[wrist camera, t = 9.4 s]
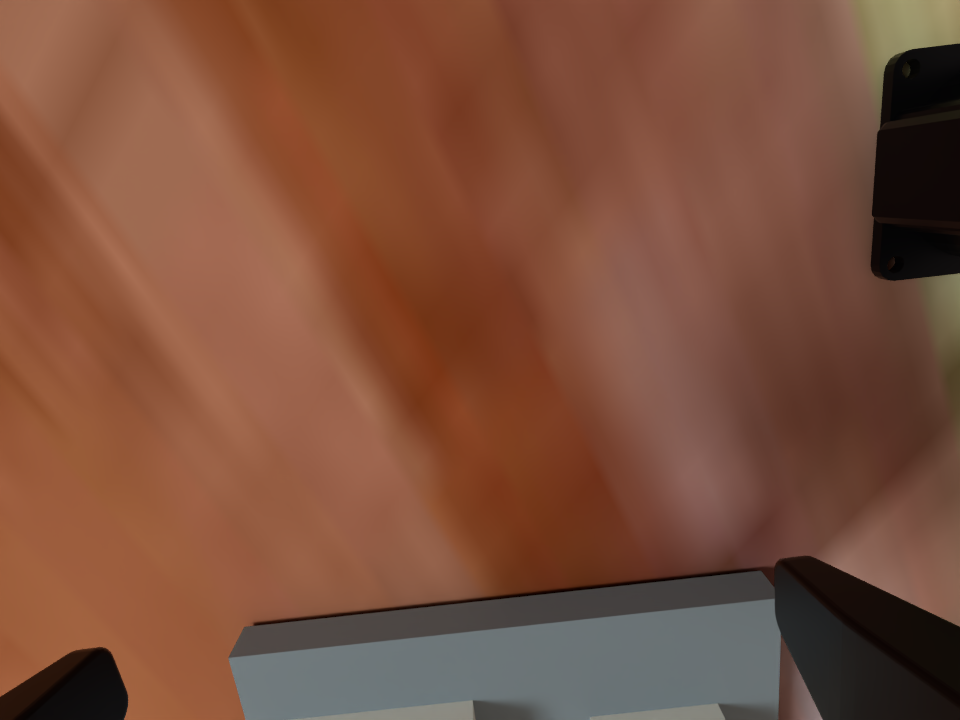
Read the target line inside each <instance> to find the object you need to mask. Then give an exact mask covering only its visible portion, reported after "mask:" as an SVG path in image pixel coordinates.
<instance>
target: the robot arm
mask: <svg viewBox="0 0 960 720" xmlns="http://www.w3.org/2000/svg"><path fill="white" fill-rule="evenodd" d="M906 62H907V63H908V64H909V66H910V73H909V76H908V77H907V78H906V77H905V76H904V75H903V72H902V69H903V66H904V64H905V63H906ZM872 216H873V217H874V225H873V240H872V255H871V270H872V272H873V274H874V275H875V276H876V277H878V278H880V279H885V280H893V281H896V280H904V279H913V278H922V277H931V276H939V275H948V274H957V273H960V44H952V45H943V46H935V47H927V48H918V49H912V50H909V51H906V52H903V53H900V54H897V55H895V56H894V57H893V58H891V59H890V60H889V62H888V63H887V65H886V67H885V71H884V80H883V95H882V109H881V124H880V130H879V131H878V134H877V147H876V161H875V176H874V191H873V206H872ZM892 257H894V259H895V264H894V266H893V268H892V269H891V270H888V267H887V265H888V262H889V260H890V259H891V258H892ZM774 587H775V616H776V621H777V625H778V627H779V630H780V632H781V635H782V637H783V639H784V641H785V643H786V645H787V647H788V649H789V651H790V653H791V655H792V657H793V659H794V661H795V663H796V665H797V667H798V670H799V672H800V674H801V676H802V678H803V680H804V682H805V684H806V686H807V688H808V690H809V692H810V694H811V696H812V698H813V700H814V702H815V704H816V707H817V709H818V711H819V713H820V715H821V717H822V719H823V720H960V627H959V626H957V625H955V624H953V623H951V622H949V621H947V620H944V619H942V618H940V617H938V616H936V615H934V614H932V613H930V612H928V611H926V610H923V609H921V608H919V607H917V606H915V605H913V604H911V603H909V602H907V601H904V600H902V599H900V598H898V597H896V596H894V595H892V594H890V593H888V592H886V591H883V590H881V589H879V588H877V587H875V586H873V585H871V584H869V583H867V582H865V581H862V580H860V579H858V578H856V577H854V576H852V575H850V574H848V573H846V572H843V571H841V570H839V569H837V568H835V567H833V566H831V565H829V564H827V563H825V562H822V561H820V560H818V559H816V558H814V557H811V556H798V557H790V558H782V559H779V560H778V561H777V562H776V564H775V569H774ZM127 707H128V694H127V691H126V688H125V686H124V683H123V680H122V678H121V675H120V673H119V670H118V668H117V665H116V663H115V660H114V658H113V655H112V654H111V652H110V651H109V650H108V649H106V648H103V647H97V648H89V649H81V650H76V651H73V652H71V653H69V654H67V655H66V656H64V657H62V658H61V659H59V660H58V661H56V662H55V663H53V664H51V665H50V666H48V667H47V668H45V669H44V670H42V671H40V672H39V673H37V674H36V675H34V676H32V677H31V678H29V679H28V680H26V681H25V682H23V683H21V684H20V685H18V686H17V687H15V688H14V689H12V690H10V691H9V692H7V693H6V694H4V695H3V696H1V697H0V720H124V718H125V715H126V712H127Z"/></svg>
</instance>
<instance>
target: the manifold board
mask: <svg viewBox="0 0 960 720" xmlns="http://www.w3.org/2000/svg"><path fill="white" fill-rule="evenodd" d="M780 646H781V632H780V630H779V627H778V625H777V621H776V616H775V588H774V587H773V586H772V584H771V583H770V582H769V580H768V579H767V578H766V577H765V575H764V574H763V573H762V571H753V572H744V573H735V574H726V575H716V576H707V577H698V578H689V579H680V580H671V581H661V582H652V583H643V584H634V585H625V586H616V587H606V588H597V589H588V590H579V591H570V592H561V593H551V594H542V595H533V596H524V597H515V598H505V599H496V600H487V601H478V602H469V603H460V604H450V605H441V606H432V607H423V608H414V609H405V610H395V611H386V612H377V613H368V614H359V615H350V616H340V617H331V618H322V619H313V620H304V621H295V622H285V623H276V624H267V625H258V626H249V627H244V629H243V631H242V633H241V635H240V636H239V638H238V640H237V642H236V644H235V646H234V648H233V650H232V652H231V654H230V656H229V662H230V665H231V669H232V672H233V676H234V680H235V683H236V687H237V690H238V694H239V697H240V701H241V705H242V708H243V712H244V715H245V719H246V720H778V708H779V677H780Z"/></svg>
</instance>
